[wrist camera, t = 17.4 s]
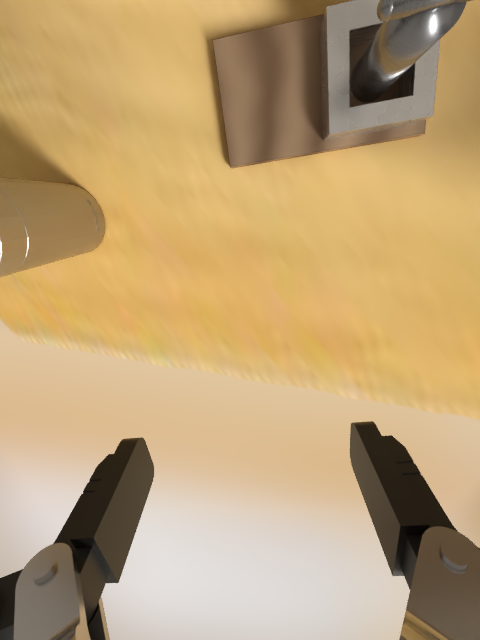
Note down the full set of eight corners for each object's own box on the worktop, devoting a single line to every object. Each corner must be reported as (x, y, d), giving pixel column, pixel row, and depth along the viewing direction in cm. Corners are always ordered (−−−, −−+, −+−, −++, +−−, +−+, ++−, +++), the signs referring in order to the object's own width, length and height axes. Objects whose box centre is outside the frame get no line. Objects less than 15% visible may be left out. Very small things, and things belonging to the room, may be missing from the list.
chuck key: (334, 109, 32) (380, 43, 18) (333, 64, 30) (381, -43, 17) (406, 93, 30) (510, 11, 17) (408, 46, 29) (523, -84, 16)
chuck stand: (231, 168, 36) (226, 163, 31) (215, 47, 32) (206, 20, 27) (418, 136, 33) (442, 125, 29) (428, -2, 29) (459, -41, 24)
